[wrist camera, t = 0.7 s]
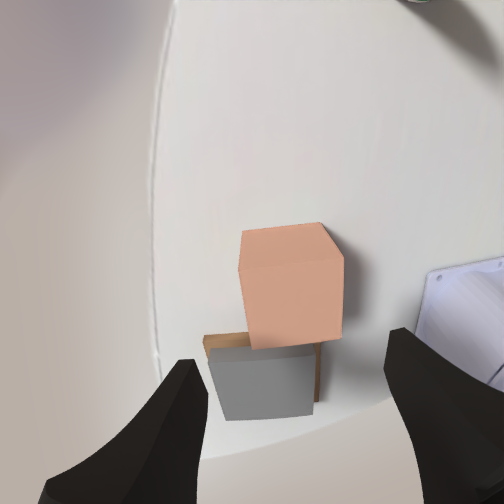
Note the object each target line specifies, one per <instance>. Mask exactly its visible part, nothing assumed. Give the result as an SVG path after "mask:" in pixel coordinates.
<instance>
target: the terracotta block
mask: <svg viewBox="0 0 504 504" xmlns="http://www.w3.org/2000/svg"><path fill="white" fill-rule="evenodd" d="M238 272H239V278H240V284H241V290H242V296H243V302H244V308H245V313H246V319H247V325H248V331H249V336H250V342H251V347H252V350H256V349H266V348H276V347H284V346H293V345H301V344H308V343H315V342H322V341H329V340H335V339H341V332H342V314H343V289H344V257H343V255H342V254H341V252H340V251H339V249H338V248H337V246H336V245H335V243H334V242H333V240H332V239H331V237H330V236H329V234H328V233H327V232H326V230H325V229H324V227H323V226H322V224H321V223H320V222H316V223H307V224H298V225H289V226H280V227H271V228H263V229H254V230H246V231H242V238H241V248H240V257H239V267H238Z"/></svg>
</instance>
